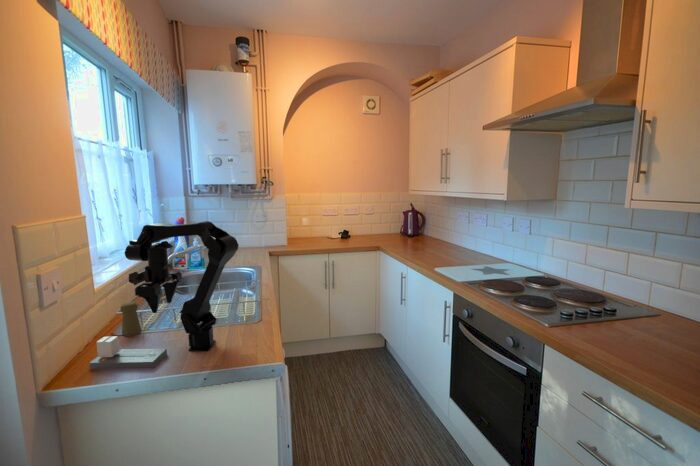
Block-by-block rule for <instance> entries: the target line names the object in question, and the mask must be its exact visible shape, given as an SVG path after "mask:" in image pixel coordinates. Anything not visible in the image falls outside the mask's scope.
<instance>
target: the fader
mask: <svg viewBox="0 0 700 466" xmlns="http://www.w3.org/2000/svg"><path fill="white" fill-rule="evenodd" d="M119 343H120V342H119V336H116V335H115V336H112V335H110V336H109V335H108V336H103V337H102V338H100V339H98V340H97V341H96V350H97V351H96V352H97V357H113V356H114V355H115V354H117V353H118V352H119V351H120V350H119V349H120V344H119Z"/></svg>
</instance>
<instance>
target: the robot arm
mask: <svg viewBox="0 0 700 466" xmlns="http://www.w3.org/2000/svg"><path fill="white" fill-rule="evenodd" d="M192 236H198V237H199V238H200V239H201V242H202V244H203V246H204V247H205V248H207V250H208V251H207V259H208V263H207V266H206V268H205V270H204V273H203V275H202V277H201V280H200V282H199V284H198V288H197V290H196V292H195V294H194V297H192V298H190V299H188V300H186V301H184V303H183V304H182V309H181V310H180V311H179V314H180V320H181V324H182V325H183V329H184V331H185V333H186V334H188V335H187V337H188V345H189V346H188V347H189V348H188V352H207V351H208V352H209V351H210V350H211V348H212V347H213V346H214V345H215V343H216V340H214V330H213V329H214V327H213V326H215V325H216V323H217V319H218V318H216V316H215V315H214V314H213V313H212V312H211V304H210V301H211V298H212V296H213V293H214V291H215V289H216V286H217V284H218V282H219V280H220V278H221V274H222V273H223V270H224V268H225V266H226V265H227V263H228V262H229V261H231V259H232V258H233V257H234V256H235V254H236V252H237V251H238V250H239V243H238V240H237V239H236V238H235V237H234V236H232V235H230V233H228V232H227V231H225V230H224V229H221V228H220V227H218V226H216V225H215V224H214V223H213V222H211V221H210V220H209V221H208V220H207V221H201V222H193V223H184V224H183V223H182V224H172V223H168V222H156V223H150V224H145V225H143V227H142V228H141V232H140V234H139V236H138V238H137V239H132V240H129V241H128V242H129V244H127V245H126V247H125V250H124V256H125V258H126V259H127V260H129V261H134V262H135V261H136V262H137V261H138V262H147V266H145V267H144V270H142V271H140V272H138V271H133V272H130V273H128V282H129V283H130V284H132V285H133V286H136V287H135V288H134V296H138V297H139V298H143V300H145V301H146V302H147V305H148V306H149V308H150V310H151V312H152V313H153V314H157V312H158V310H159V306H160V301H161V297H162V292H161V291H162V287H163V289H164V294H165V299H166V302H167V303H168V304H171V303H172V301H173V298H174V296H175V293H176V292H177V289H178V287H179V284H180V283H181V280H182V279H183V275H182V272H180V271H174V270H173V271H172V270H171V271H170V267H171V266H172V262H169V257H168V249H172V248H173V245H172V244H171V243H170V242H169V241H167V240H169V239H172V238H175V237H176V238H178V237H192ZM164 240H165V241H164ZM144 282H145V283H144ZM138 284H139V285H138ZM161 286H162V287H161Z"/></svg>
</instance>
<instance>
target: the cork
mask: <svg viewBox="0 0 700 466" xmlns="http://www.w3.org/2000/svg"><path fill="white" fill-rule="evenodd" d="M138 308H139V307H138V304H137V302H136V301H127V302H123V303H122V304H121V306H120V312H121V313H122V320H121V321H122V323H121V335H122V336H123V335H124V336H123V337H129V336H130V335H131V336H134V334H135V335H137V333H138V334H140V333H141V332H142V326H141V323H140V320H139V316H138V312H137V310H138ZM140 331H141V332H140ZM139 332H140V333H139Z"/></svg>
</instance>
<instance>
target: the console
mask: <svg viewBox="0 0 700 466" xmlns="http://www.w3.org/2000/svg"><path fill="white" fill-rule="evenodd" d="M119 350H120V351H119V352H118V353H117V354H115V355H114V356H113V357H98V356H97V357H95V358H94V359H93V360H91V361H90V362H88V364H89V370H131V369H132V370H133V369H134V370H136V369H137V370H138V369H142V370H143V369H144V370H145V369H147V370H148V369H154V368H156V366H157V365H158V364H159V363H160V362H162V360H163V359H164V358H165V357H166V356H167V355H168V351H167V350H168V349H167V348H128V349H127V348H126V349H123V348H121V349H120V348H119Z"/></svg>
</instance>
